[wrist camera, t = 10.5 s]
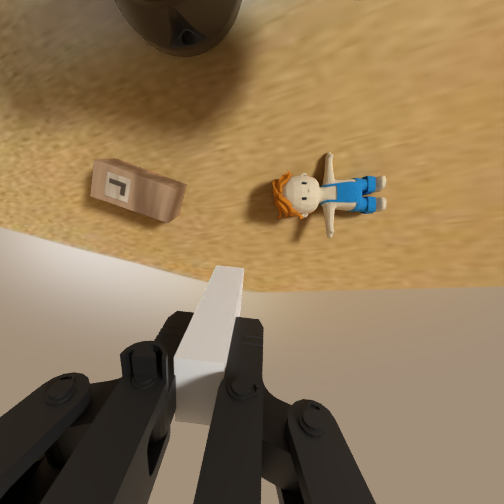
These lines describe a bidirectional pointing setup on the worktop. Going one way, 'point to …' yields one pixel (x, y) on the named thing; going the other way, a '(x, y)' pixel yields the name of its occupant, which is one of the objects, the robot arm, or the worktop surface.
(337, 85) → the worktop surface
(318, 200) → the toy
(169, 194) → the block
